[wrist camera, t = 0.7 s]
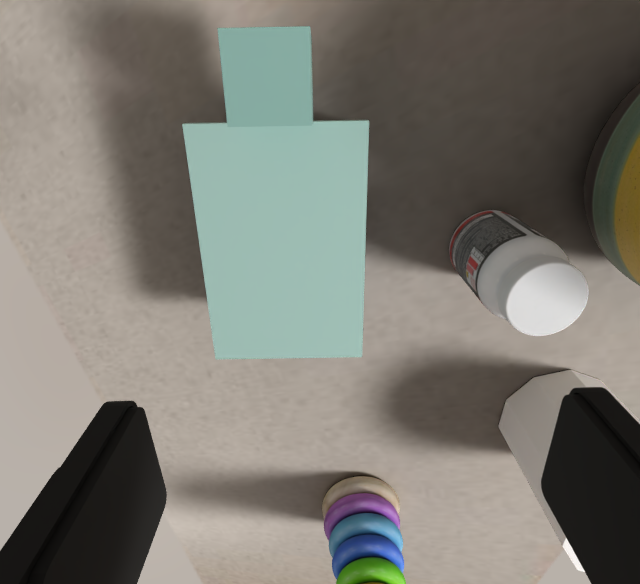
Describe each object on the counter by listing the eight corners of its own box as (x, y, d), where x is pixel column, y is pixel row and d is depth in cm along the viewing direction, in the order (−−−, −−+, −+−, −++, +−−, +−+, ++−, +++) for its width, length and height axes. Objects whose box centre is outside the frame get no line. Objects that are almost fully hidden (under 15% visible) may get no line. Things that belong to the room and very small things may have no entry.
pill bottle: (444, 279, 34) (488, 345, 25) (450, 209, 32) (502, 255, 23) (515, 277, 34) (585, 342, 25) (527, 207, 32) (609, 251, 23)
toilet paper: (484, 449, 42) (543, 574, 31) (520, 362, 38) (602, 472, 27) (582, 460, 43) (673, 586, 32) (628, 376, 39) (751, 488, 28)
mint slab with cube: (176, 39, 22) (148, 29, 18) (369, 36, 22) (379, 25, 18) (218, 351, 30) (205, 386, 27) (360, 349, 30) (366, 384, 26)
